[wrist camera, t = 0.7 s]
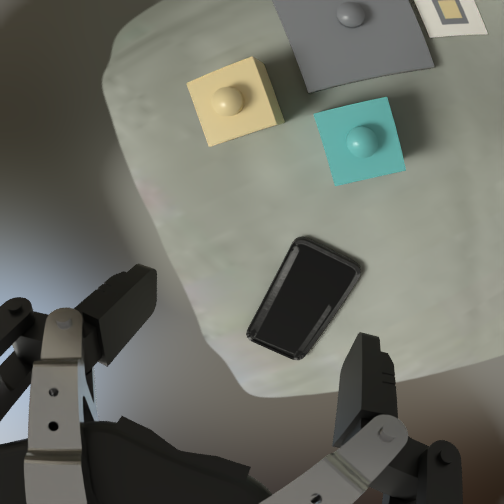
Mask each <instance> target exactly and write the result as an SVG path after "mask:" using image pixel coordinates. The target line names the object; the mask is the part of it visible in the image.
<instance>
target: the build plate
mask: <svg viewBox="0 0 504 504" xmlns="http://www.w3.org/2000/svg"><path fill="white" fill-rule="evenodd" d="M272 2H273V4H274V6H275V8H276V11H277V13H278V15H279V18H280V20H281V22H282V25H283V27H284V30H285V32H286V35H287V37H288V40H289V42H290V45H291V47H292V50H293V52H294V55H295V57H296V60H297V63H298V65H299V68H300V71H301V73H302V76H303V79H304V82H305V85H306V87H307V90H308V93H309V94H310V93H313V92H317V91H321V90H324V89H328V88H332V87H336V86H341V85H345V84H349V83H353V82H358V81H362V80H367V79H372V78H377V77H382V76H387V75H393V74H398V73H404V72H410V71H417V70H424V69H431V68H433V67H434V64H433V61H432V58H431V55H430V52H429V49H428V46H427V44H426V41H425V38H424V36H423V33H422V31H421V28H420V26H419V23H418V21H417V19H416V16H415V14H414V12H413V9H412V7H411V5H410V3H409V1H408V0H272Z"/></svg>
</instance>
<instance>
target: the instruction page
mask: <svg viewBox="0 0 504 504" xmlns="http://www.w3.org/2000/svg"><path fill="white" fill-rule="evenodd" d="M414 2H415V4H416V7H417V9H418V11H419V13H420V16H421V18H422V20H423V23H424V25H425V28H426V30H427V33H428V35H429V38H433V37H444V36H458V35H481V34H488V33H487V30H486V28H485V25H484V23H483V20H482V18H481V15H480V13H479V11H478V8H477V6H476V4H475V1H474V0H414Z"/></svg>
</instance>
